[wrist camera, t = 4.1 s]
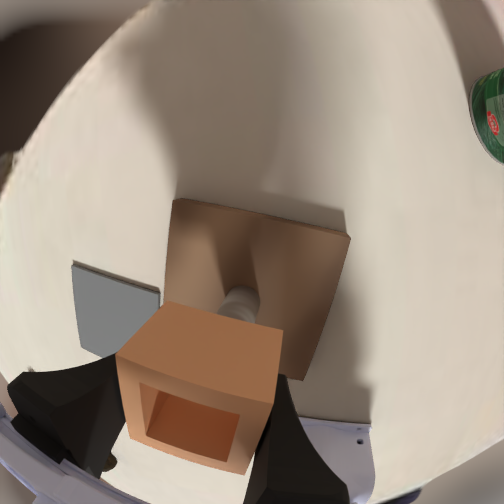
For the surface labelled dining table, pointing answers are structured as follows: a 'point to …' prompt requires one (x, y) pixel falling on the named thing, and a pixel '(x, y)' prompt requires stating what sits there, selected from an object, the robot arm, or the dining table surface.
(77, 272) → the pad
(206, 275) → the post block
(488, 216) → the dining table surface
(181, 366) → the hollow square tube
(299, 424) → the robot arm
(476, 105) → the canned tomato
